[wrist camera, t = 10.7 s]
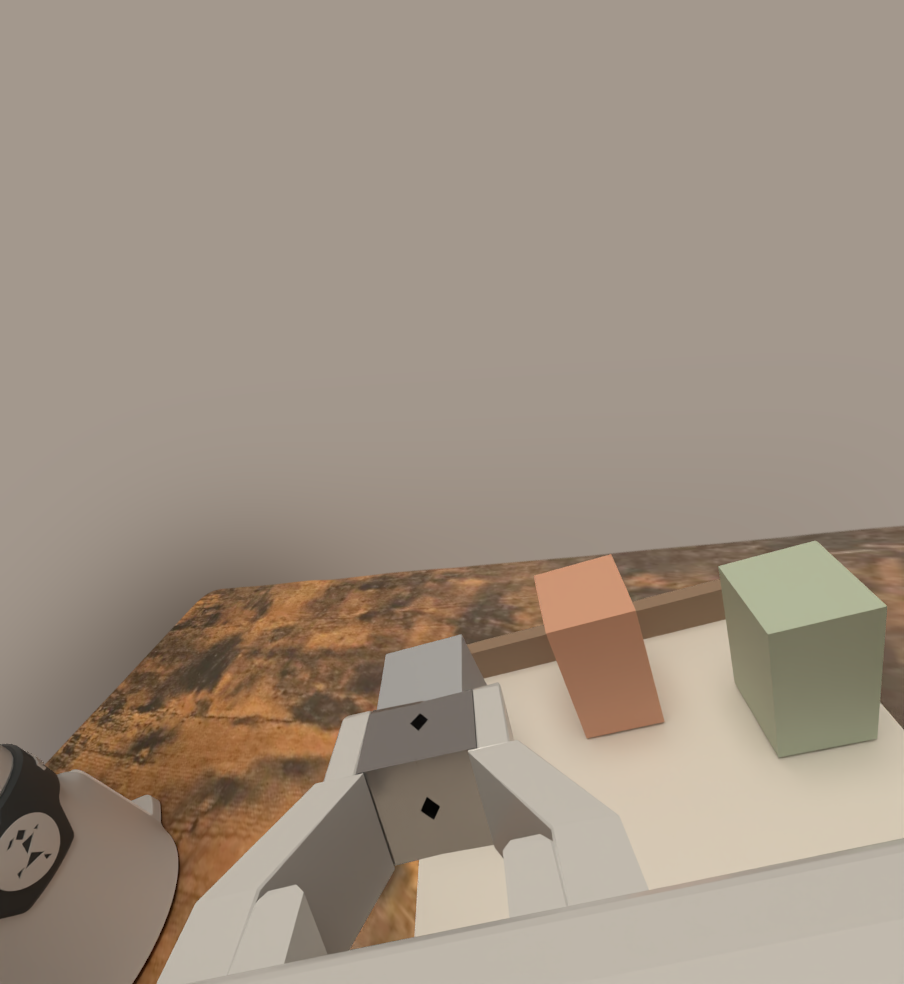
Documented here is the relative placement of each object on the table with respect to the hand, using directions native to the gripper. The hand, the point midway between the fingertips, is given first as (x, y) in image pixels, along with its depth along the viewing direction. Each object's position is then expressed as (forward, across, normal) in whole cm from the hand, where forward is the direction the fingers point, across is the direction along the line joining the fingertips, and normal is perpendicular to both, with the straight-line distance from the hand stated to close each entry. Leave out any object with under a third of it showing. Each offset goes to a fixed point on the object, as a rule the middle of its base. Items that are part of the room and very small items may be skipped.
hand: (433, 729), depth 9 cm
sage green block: (+17, -17, +17) cm, 30 cm away
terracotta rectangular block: (+22, -8, +17) cm, 29 cm away
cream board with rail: (+19, -8, +19) cm, 28 cm away
